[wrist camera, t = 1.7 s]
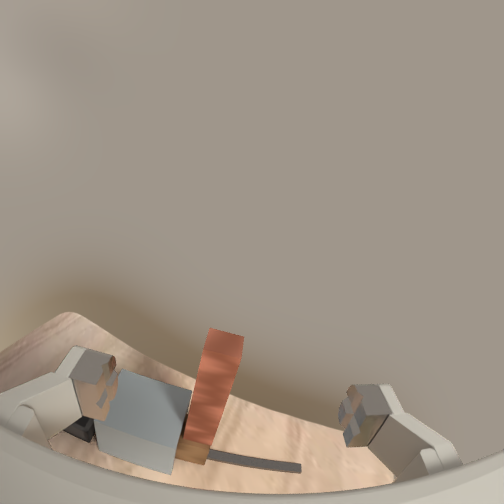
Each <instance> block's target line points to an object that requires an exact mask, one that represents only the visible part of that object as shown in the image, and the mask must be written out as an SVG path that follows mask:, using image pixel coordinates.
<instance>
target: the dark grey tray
mask: <svg viewBox="0 0 504 504" xmlns="http://www.w3.org/2000/svg"><path fill="white" fill-rule="evenodd" d="M63 431H65V432H67V433H69V434H71V435H73V436H75V437H78V438H80V439H82V440H84V441H86V442H89V443H90V441H91V439H92V437H93V435H94V433H95V425H94V419H93V418H90V417H86V416H83V415H82V417H81V418H79V419H78V420H77V421H75V422H74V423H72V424H71V425H69V426H68V427H67V428H65V429H64V430H63Z"/></svg>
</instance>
